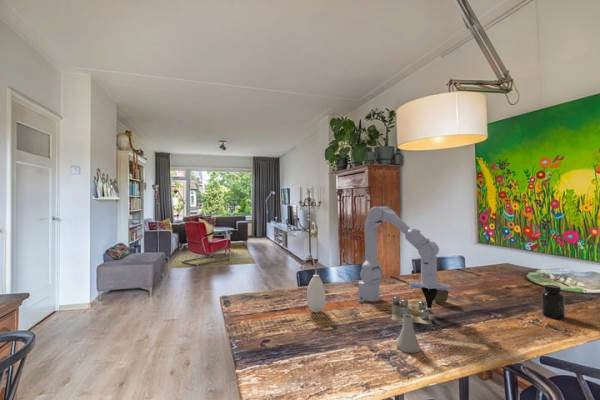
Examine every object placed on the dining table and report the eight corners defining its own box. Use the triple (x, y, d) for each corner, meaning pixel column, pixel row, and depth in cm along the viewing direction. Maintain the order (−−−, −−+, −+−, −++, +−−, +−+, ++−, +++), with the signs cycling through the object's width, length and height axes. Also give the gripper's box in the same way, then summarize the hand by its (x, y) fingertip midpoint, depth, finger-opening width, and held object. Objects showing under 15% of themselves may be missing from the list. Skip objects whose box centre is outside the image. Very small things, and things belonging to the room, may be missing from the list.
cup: (451, 308, 121) (451, 290, 121) (432, 307, 123) (432, 289, 123) (445, 302, 129) (445, 284, 129) (428, 301, 130) (428, 284, 130)
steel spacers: (392, 316, 111) (392, 308, 111) (392, 302, 126) (392, 295, 126) (429, 320, 106) (429, 312, 106) (425, 305, 122) (425, 298, 122)
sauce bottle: (327, 315, 115) (326, 270, 115) (307, 316, 114) (307, 271, 114) (324, 308, 123) (323, 266, 123) (306, 308, 122) (305, 266, 122)
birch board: (391, 322, 108) (391, 319, 108) (391, 305, 126) (391, 302, 126) (432, 327, 103) (432, 324, 103) (426, 308, 122) (426, 305, 122)
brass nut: (407, 313, 113) (407, 308, 113) (407, 310, 117) (407, 305, 117) (418, 315, 112) (418, 309, 112) (417, 311, 116) (417, 306, 116)
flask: (392, 342, 93) (392, 312, 93) (413, 341, 94) (413, 311, 94) (402, 354, 86) (402, 321, 86) (425, 353, 86) (425, 320, 86)
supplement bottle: (559, 314, 115) (559, 284, 115) (568, 320, 109) (568, 289, 109) (538, 312, 117) (538, 283, 117) (546, 318, 111) (546, 287, 111)
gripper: (409, 274, 111) (410, 308, 111) (451, 276, 106) (451, 313, 106) (408, 269, 118) (409, 302, 118) (447, 272, 113) (448, 306, 113)
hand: (429, 307), depth 112 cm, fingers closed
